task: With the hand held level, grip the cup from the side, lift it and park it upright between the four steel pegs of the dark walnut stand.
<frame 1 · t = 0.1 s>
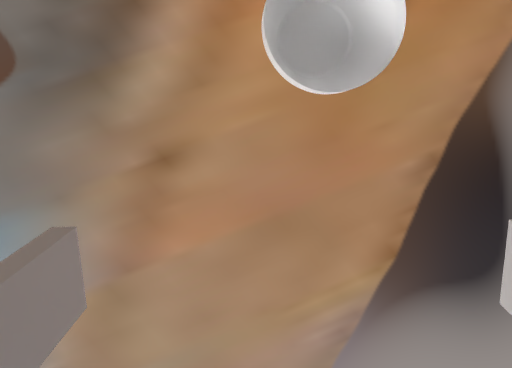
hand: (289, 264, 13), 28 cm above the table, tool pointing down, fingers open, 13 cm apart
cup: (314, 39, 39), on the table
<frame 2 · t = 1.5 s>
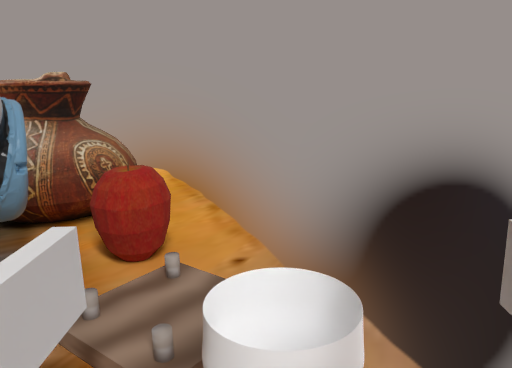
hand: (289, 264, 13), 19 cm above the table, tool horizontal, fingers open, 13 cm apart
peg stand: (170, 327, 43), on the table
jug: (57, 210, 81), on the table
apple: (136, 257, 60), on the table
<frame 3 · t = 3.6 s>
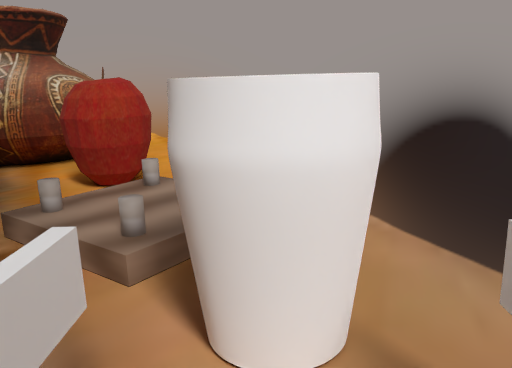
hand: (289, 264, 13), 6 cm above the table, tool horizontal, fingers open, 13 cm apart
peg stand: (146, 226, 37), on the table
jug: (32, 158, 75), on the table
apple: (114, 184, 54), on the table
cup: (277, 335, 21), on the table
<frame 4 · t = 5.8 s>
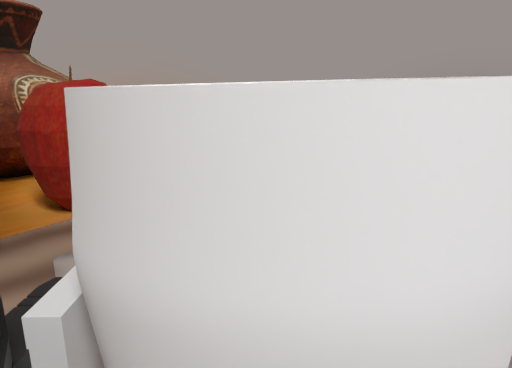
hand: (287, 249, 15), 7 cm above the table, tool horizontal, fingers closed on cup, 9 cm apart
peg stand: (111, 279, 28), on the table
jug: (3, 170, 66), on the table
apple: (86, 207, 45), on the table
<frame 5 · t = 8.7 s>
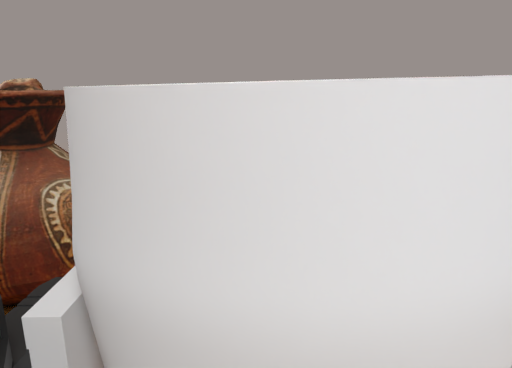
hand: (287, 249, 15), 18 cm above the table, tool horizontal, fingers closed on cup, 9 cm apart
jug: (23, 279, 56), on the table
when the fingers open (10 cm above the table, at t = 11.4 s): cup drops 1 cm, resting on peg stand.
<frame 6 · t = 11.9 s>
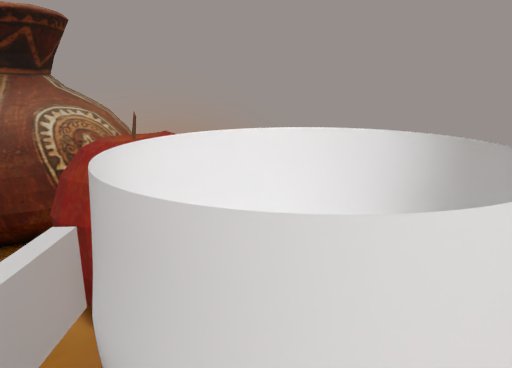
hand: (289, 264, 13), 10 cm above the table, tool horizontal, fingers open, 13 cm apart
jug: (16, 225, 51), on the table
apple: (151, 321, 29), on the table
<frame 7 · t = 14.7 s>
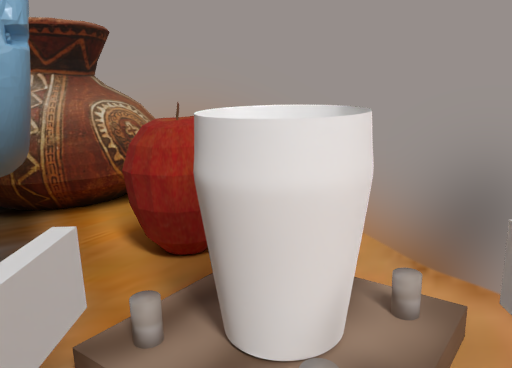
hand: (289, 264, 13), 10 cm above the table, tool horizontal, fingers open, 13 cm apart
peg stand: (282, 357, 25), on the table
jug: (66, 196, 64), on the table
apple: (186, 249, 42), on the table
cup: (283, 329, 24), point 2 cm above the table, touching peg stand
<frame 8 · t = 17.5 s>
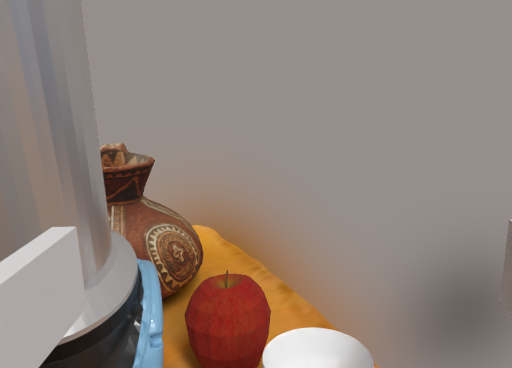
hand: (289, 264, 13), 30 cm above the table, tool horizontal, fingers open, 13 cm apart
jug: (117, 293, 76), on the table
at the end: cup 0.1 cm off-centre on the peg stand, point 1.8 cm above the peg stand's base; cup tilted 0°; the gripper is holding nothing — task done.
